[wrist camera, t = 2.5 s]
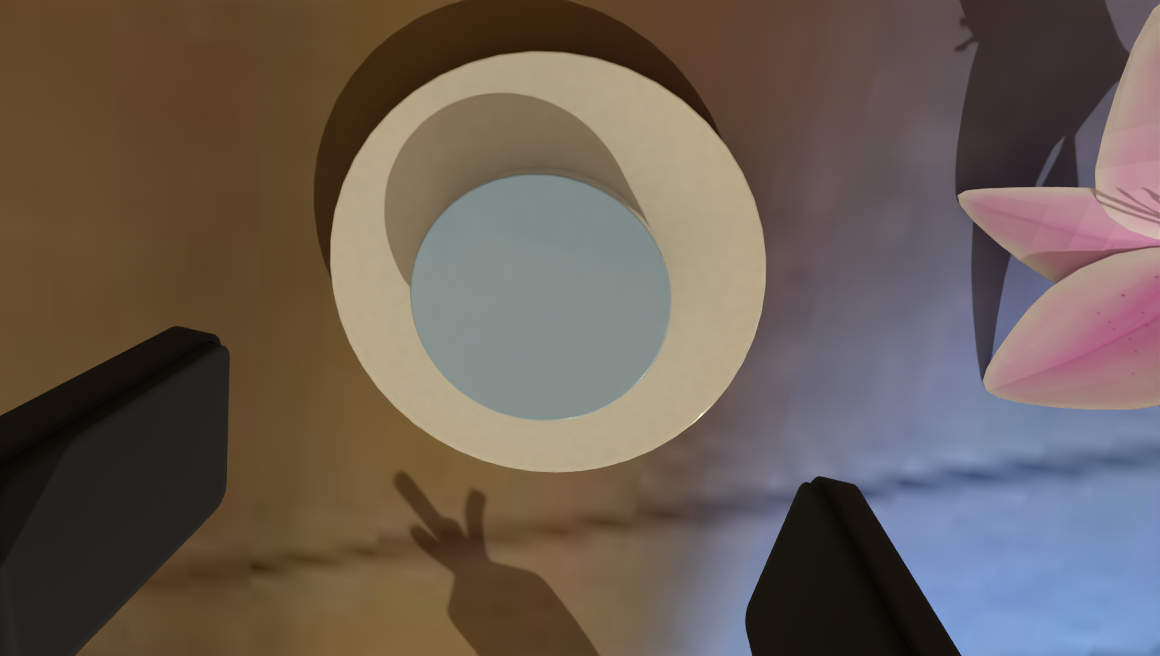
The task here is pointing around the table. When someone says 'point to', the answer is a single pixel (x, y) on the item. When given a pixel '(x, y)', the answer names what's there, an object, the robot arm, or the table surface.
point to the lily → (1089, 262)
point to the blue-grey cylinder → (541, 294)
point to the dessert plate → (568, 142)
